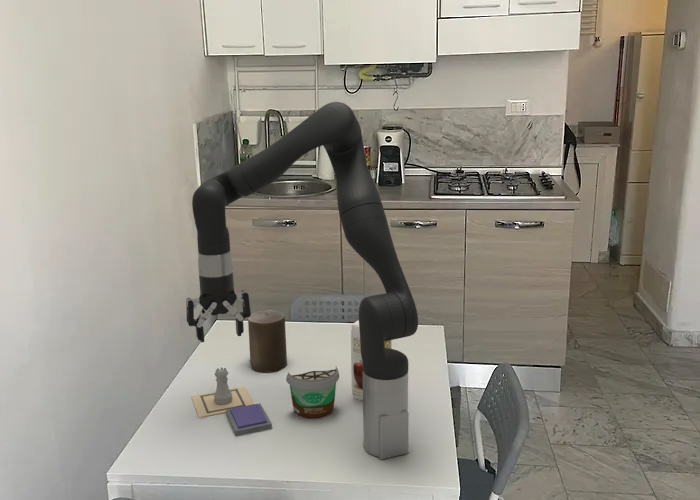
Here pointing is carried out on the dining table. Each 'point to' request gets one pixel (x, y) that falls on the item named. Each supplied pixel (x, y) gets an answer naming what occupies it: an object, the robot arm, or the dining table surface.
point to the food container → (313, 393)
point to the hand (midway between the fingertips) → (220, 338)
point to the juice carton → (358, 361)
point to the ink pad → (248, 419)
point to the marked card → (209, 407)
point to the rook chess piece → (222, 387)
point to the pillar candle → (267, 341)
